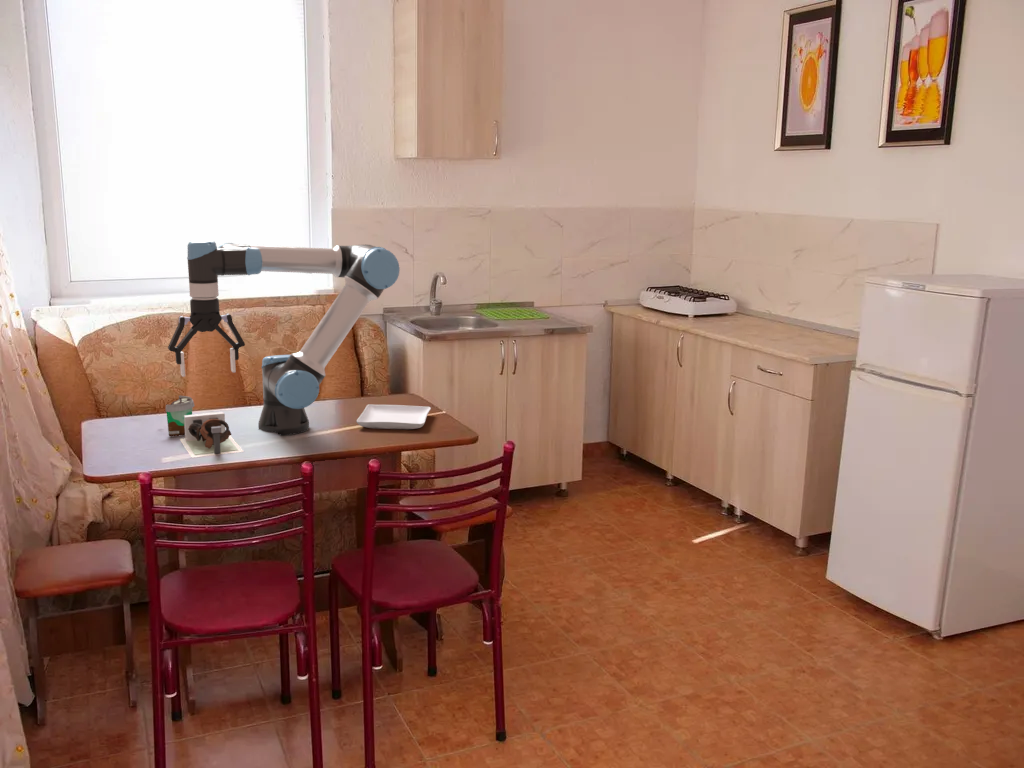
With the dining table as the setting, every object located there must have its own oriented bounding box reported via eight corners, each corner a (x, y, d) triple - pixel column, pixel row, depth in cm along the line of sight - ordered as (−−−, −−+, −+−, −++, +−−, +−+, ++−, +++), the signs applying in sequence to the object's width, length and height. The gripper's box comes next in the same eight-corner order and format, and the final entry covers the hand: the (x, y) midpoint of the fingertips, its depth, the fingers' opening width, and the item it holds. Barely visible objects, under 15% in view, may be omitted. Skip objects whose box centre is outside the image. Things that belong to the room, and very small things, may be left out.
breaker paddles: (218, 427, 272) (217, 417, 272) (218, 428, 272) (218, 418, 271) (193, 430, 269) (192, 419, 268) (193, 430, 268) (193, 420, 268)
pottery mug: (232, 439, 272) (235, 419, 267) (223, 462, 264) (226, 442, 259) (191, 429, 270) (193, 409, 265) (180, 452, 263) (182, 431, 257)
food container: (188, 438, 275) (186, 405, 273) (167, 437, 275) (165, 405, 272) (201, 427, 287) (199, 395, 285) (181, 426, 287) (179, 395, 284)
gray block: (221, 452, 259) (220, 426, 257) (222, 453, 257) (221, 427, 256) (212, 453, 258) (211, 426, 256) (213, 454, 256) (212, 428, 254)
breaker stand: (228, 436, 277) (227, 410, 275) (244, 455, 260) (242, 427, 258) (179, 442, 271) (178, 415, 269) (191, 461, 254) (190, 432, 252)
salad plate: (424, 433, 287) (424, 422, 286) (355, 431, 287) (355, 420, 287) (431, 415, 308) (431, 405, 307) (367, 414, 308) (367, 403, 307)
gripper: (247, 294, 264) (250, 367, 269) (154, 298, 252) (159, 374, 257) (253, 297, 258) (256, 372, 262) (158, 301, 246) (163, 380, 251)
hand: (208, 373), depth 260 cm, fingers open, 13 cm apart
